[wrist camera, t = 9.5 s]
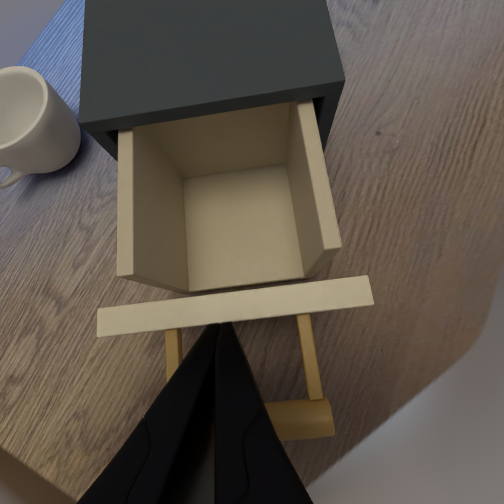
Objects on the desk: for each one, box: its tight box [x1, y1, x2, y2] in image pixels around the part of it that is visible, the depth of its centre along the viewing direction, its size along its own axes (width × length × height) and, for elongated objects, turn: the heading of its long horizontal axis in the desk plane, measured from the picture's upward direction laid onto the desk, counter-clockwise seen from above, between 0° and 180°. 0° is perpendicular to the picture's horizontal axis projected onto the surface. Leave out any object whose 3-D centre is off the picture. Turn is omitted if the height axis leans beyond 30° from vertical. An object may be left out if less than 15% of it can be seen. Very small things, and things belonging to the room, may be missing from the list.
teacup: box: [0, 66, 81, 190], centre depth 23 cm, size 10×8×5 cm
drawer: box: [97, 98, 374, 441], centre depth 16 cm, size 17×11×9 cm, turn 7°
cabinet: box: [79, 0, 345, 162], centre depth 19 cm, size 14×13×11 cm
